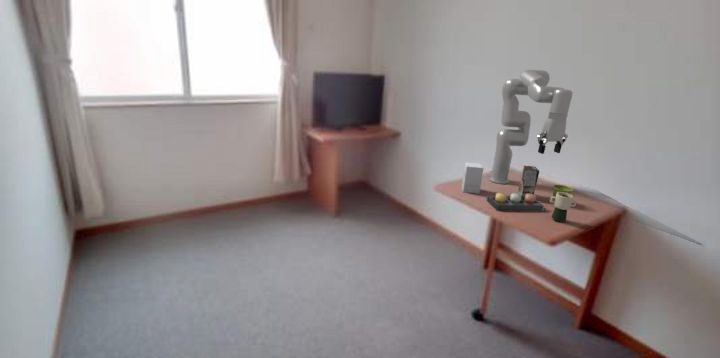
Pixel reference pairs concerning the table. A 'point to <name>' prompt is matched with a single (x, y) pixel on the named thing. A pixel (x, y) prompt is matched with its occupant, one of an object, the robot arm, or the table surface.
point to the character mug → (562, 205)
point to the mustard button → (500, 198)
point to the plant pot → (561, 189)
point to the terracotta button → (530, 198)
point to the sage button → (515, 198)
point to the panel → (515, 205)
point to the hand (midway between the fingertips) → (548, 152)
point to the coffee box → (528, 180)
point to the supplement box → (472, 177)
